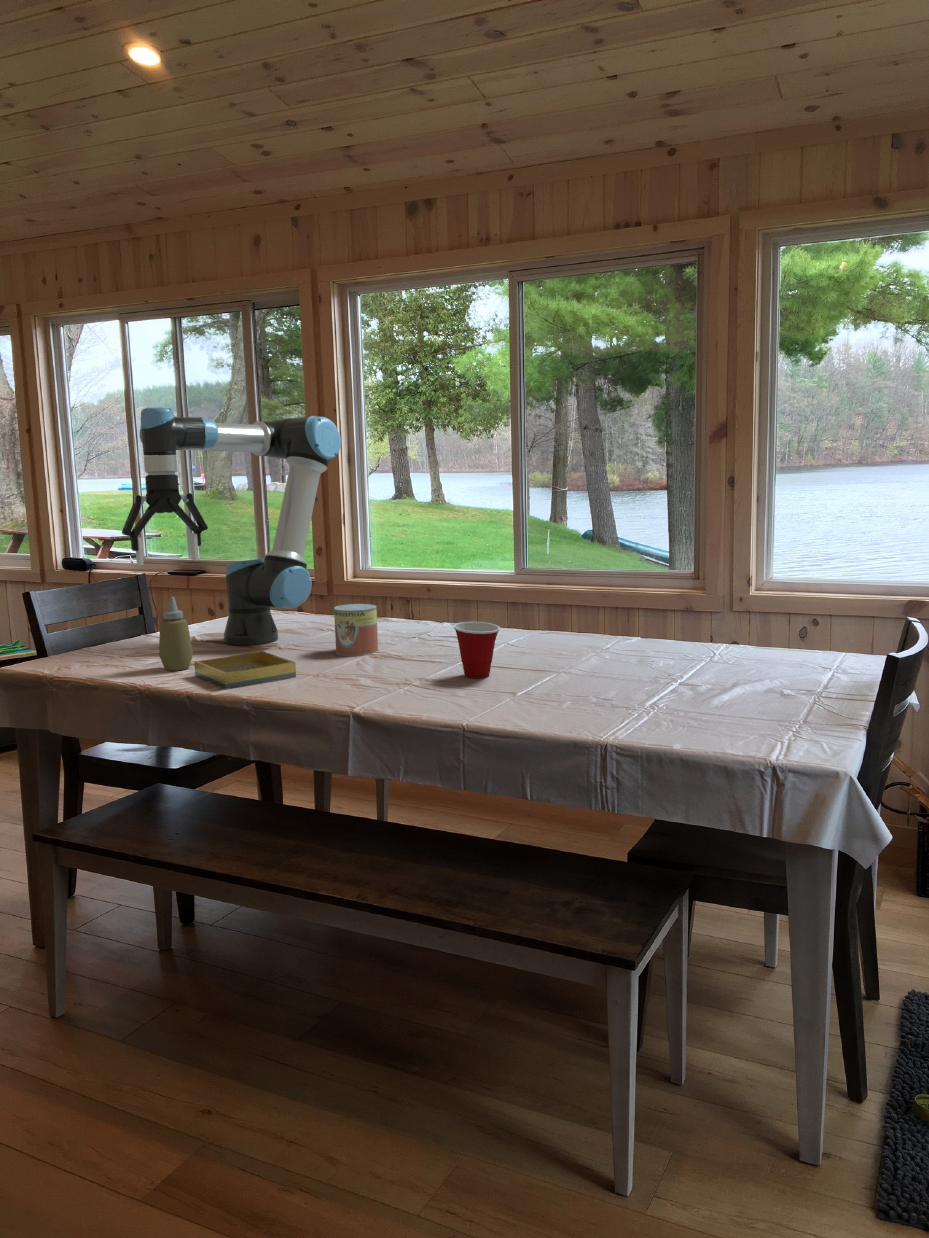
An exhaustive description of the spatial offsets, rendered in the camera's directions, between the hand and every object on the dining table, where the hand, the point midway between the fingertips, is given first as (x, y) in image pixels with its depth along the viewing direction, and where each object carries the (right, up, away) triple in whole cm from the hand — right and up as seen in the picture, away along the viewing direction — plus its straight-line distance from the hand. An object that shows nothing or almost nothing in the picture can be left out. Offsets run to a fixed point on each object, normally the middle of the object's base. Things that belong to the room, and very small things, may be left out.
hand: (168, 562), depth 226 cm
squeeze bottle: (+1, -26, +5) cm, 27 cm away
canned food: (+44, -23, +21) cm, 53 cm away
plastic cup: (+75, -27, -10) cm, 81 cm away
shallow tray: (+20, -27, -6) cm, 35 cm away
